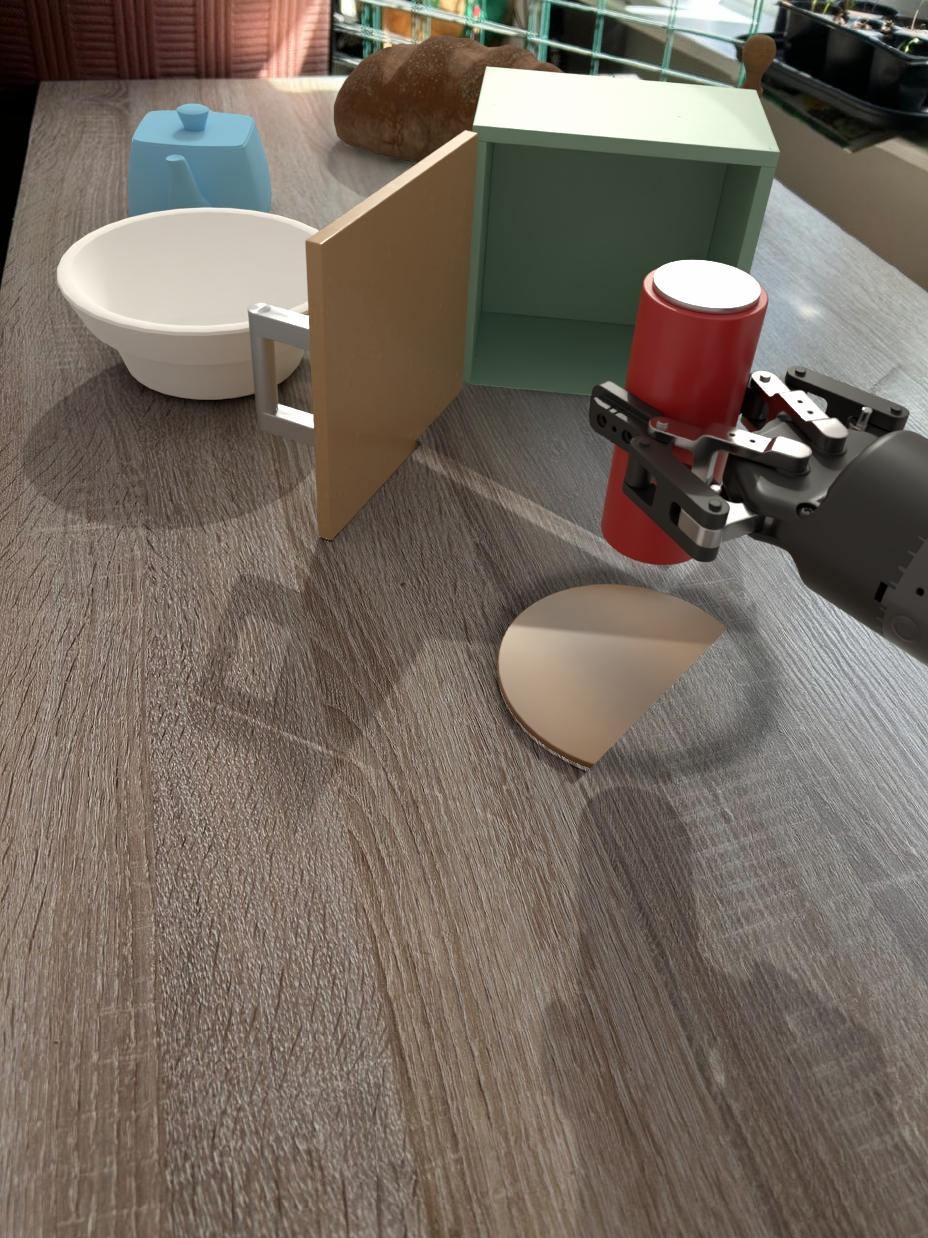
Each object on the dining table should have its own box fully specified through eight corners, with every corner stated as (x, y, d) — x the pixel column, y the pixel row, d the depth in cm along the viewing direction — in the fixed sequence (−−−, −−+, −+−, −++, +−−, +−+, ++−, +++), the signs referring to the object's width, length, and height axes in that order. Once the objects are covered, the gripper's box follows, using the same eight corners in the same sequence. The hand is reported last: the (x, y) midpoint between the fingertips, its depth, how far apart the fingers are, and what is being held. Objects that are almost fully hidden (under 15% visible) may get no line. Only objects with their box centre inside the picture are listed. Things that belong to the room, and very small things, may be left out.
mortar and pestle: (716, 210, 113) (758, 21, 101) (765, 232, 109) (814, 39, 97) (674, 224, 109) (712, 30, 97) (723, 247, 106) (768, 49, 94)
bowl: (402, 354, 87) (404, 257, 81) (220, 470, 74) (207, 364, 68) (213, 277, 95) (203, 185, 89) (17, 370, 82) (-9, 268, 76)
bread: (347, 116, 128) (344, 10, 120) (590, 135, 127) (603, 30, 119) (323, 163, 116) (318, 48, 109) (591, 184, 115) (605, 70, 108)
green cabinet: (713, 417, 82) (780, 151, 69) (456, 393, 83) (472, 124, 69) (699, 337, 92) (756, 89, 78) (469, 315, 92) (486, 65, 79)
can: (592, 500, 56) (633, 254, 47) (692, 500, 57) (751, 256, 48) (610, 566, 52) (658, 311, 43) (717, 565, 53) (786, 313, 44)
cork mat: (593, 561, 69) (595, 551, 68) (804, 674, 62) (807, 665, 62) (442, 684, 60) (443, 675, 59) (669, 832, 53) (672, 823, 53)
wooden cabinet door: (249, 513, 70) (219, 218, 57) (390, 377, 84) (393, 113, 70) (331, 541, 68) (321, 244, 55) (461, 398, 82) (478, 132, 69)
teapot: (116, 280, 93) (93, 145, 86) (155, 199, 107) (138, 76, 99) (258, 286, 94) (248, 153, 86) (280, 205, 107) (272, 83, 99)
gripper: (1083, 426, 43) (754, 270, 52) (874, 560, 36) (536, 352, 45) (1009, 569, 48) (721, 404, 57) (813, 711, 41) (521, 496, 50)
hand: (641, 382), depth 51 cm, fingers closed on can, 5 cm apart
